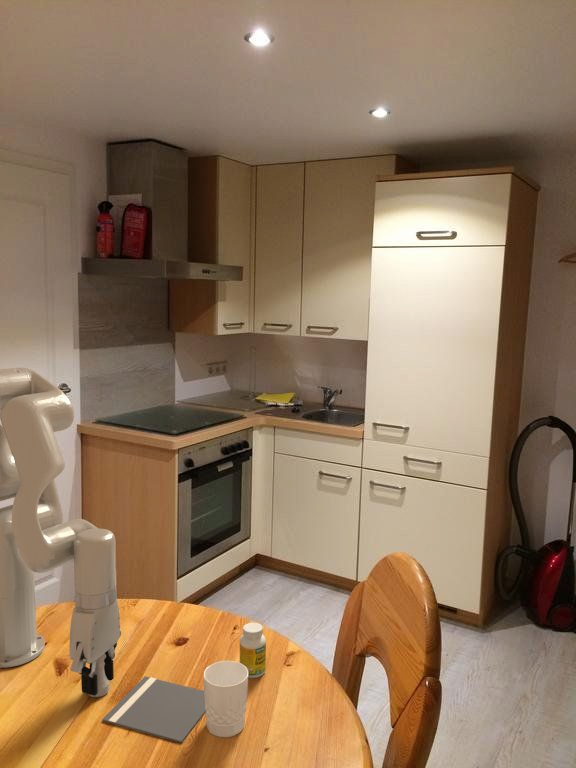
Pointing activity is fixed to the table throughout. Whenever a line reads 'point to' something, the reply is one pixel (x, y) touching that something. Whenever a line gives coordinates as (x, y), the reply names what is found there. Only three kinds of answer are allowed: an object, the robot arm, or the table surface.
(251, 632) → the supplement bottle
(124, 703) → the mat
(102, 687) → the rook chess piece
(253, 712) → the table surface
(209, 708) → the white cup
